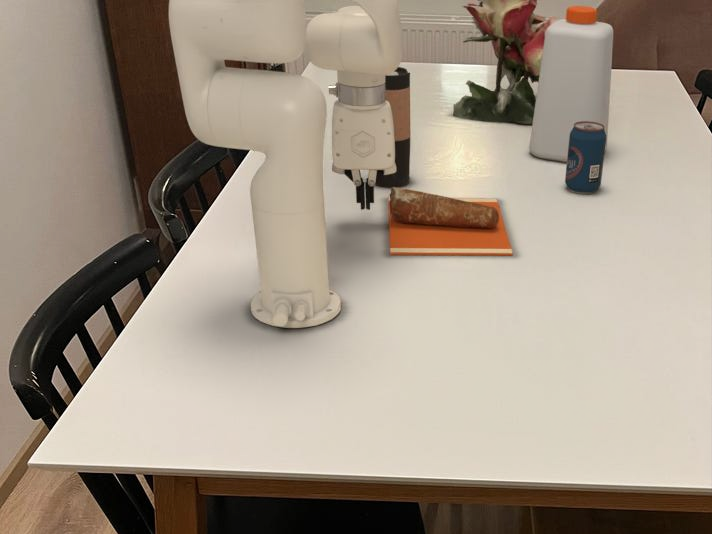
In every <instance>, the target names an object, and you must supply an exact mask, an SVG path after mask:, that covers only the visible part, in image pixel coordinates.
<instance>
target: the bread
mask: <svg viewBox="0 0 712 534" xmlns="http://www.w3.org/2000/svg"><path fill="white" fill-rule="evenodd" d="M389 197H390V202H389V201H388V206H389V205H390V215H391V216H392V218H393V219H397V220H399V221H402V222H407V223H414V224H426V225H441V226H451V227H466V228H468V227H470V228H493V227H496V226H497V224H498V222H499V213H498V211H497V209H496V208H494V207H491V206H486V205H481V204H476V203H472V202H467V201H462V200H458V199H453V198H454V197H449V196H443V195H439V194H433V193H429V192H424V191H420V190H419V191H418V190H414V189H409V188H400V187H390V193H389Z"/></svg>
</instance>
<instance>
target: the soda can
mask: <svg viewBox="0 0 712 534" xmlns="http://www.w3.org/2000/svg"><path fill="white" fill-rule="evenodd" d="M606 137H607V136H606V133H605V130H604V125H602V124H600V123H597V122H590V121H581V122H576V123H575V124H574V127H573V129H572V131H571V132H570V137H569V147H568V157H567V162H566V166H565V167H566V169H565V176H564V177H565V178H564V182H565V185H566V187H567V189H568V191H569V192H571V193H574V194H577V195H578V194H579V195H590V194H594V193H596V192H597V190H599V189H600V187H601V185H602V179H603V169H604V161H605V152H606V150H605V145H606ZM607 138H608V137H607Z"/></svg>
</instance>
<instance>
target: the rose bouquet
mask: <svg viewBox="0 0 712 534" xmlns="http://www.w3.org/2000/svg"><path fill="white" fill-rule="evenodd" d="M477 1H478V2H479V3H478V4H476V3H467V5H462V8H464V9H466V11H468V12H469V14H470V15H471V19H472V21H471V23H472V25H473V27H474V28H475V29H477V30H478V31H479V32H480V33H481V36H469V37H467V38H465V39H464V40H463V41H462V43H465V44H466V43H469V42H471V43H475V42H476V43H488V42H491V45H492V48H493V52H494V56H495V57H496V58H497V65H496V75H495V88H494V90H491V89H488V88H487V87H485V86H483V85H480V84H477V83H475V82H474V81H472V80H469V79H468V80H467V81H466V82H465V85H467V87H468V89H469V93H470V94H471V95H467V94H465V95H463V96H462V97H461V99H459V101H457V102H456V103H454V104H453V111H452V112H453V113H452V116H454V117H457V118H459V119H466V120H473V121H482V122H493V123H494V122H495V123H496V122H497V123H502V122H504V123H507V122H513V123H517V124H523V125H532V124H533V117H534V110H535V103H536V96H535V91H534V89H533V87H532V86H531V84H534V83H538V82H539V75H540V68H541V61H542V54H543V47H544V40H545V33H546V30H547V28H548V27H549V26H550V25H551V24H553V23H554V22H556V21H558V20H561V19H562V18H558V17H556V16H551V17H549V16H548V17H547V18H546V17H545V16H542V15H540V14H535V13H534V11H535V9H536V8H537V5H538V0H477ZM505 76H506V79H507V80H508V83H509V85H508V86H507V88H502V86H501V83H502V80H503V79H504V78H505ZM529 79H530V82H531V83H530V82H529ZM487 86H488V85H487Z"/></svg>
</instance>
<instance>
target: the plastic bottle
mask: <svg viewBox="0 0 712 534" xmlns="http://www.w3.org/2000/svg"><path fill="white" fill-rule="evenodd" d="M597 17H598V11H597V9H596V8H595V7H591V6H586V5H585V6H584V5H572V6H568V7H567V9H566V13H565V18H560V19H561V20H558V21H556V22H554V23H553V24H551V25H550V26H549V27H548V28H547V30H546V33H545V40H544V47H543V54H542V61H541V68H540V75H539V82H537V91H536V96H535V99H536V103H535V110H534V117H533V124H531V132H530V138H529V139H530V140H529V147H528V149H529V151H530V154H532V155H533V156H534V157H536V158H539V159H543V160H549V161H556V162H562V163H567V157H568V147H569V137H570V132H571V131H572V129H573V127H574V124H575V123H576V122H581V121H590V122H597V123H600V124H602V125H604V130H605V133H606V136H607V137H606V145H605V151H606V150H607V148H608V138H609V137H608V136H609V135H608V134H609V117H610V101H611V100H610V99H611V84H612V83H611V82H612V65H613V47H614V29H613V26H612V25H611V24H609V23H607V22H603V21H602V22H601V21H597Z"/></svg>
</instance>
